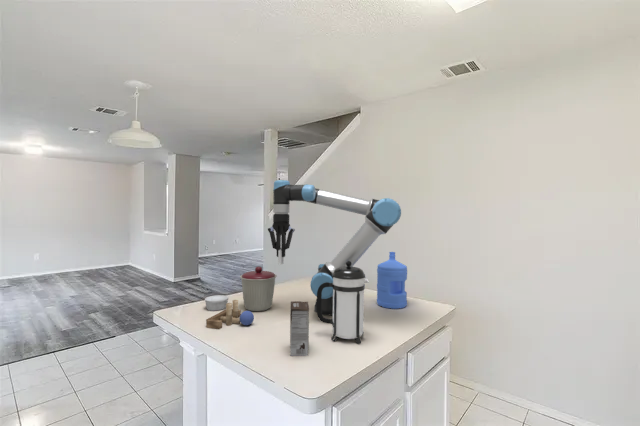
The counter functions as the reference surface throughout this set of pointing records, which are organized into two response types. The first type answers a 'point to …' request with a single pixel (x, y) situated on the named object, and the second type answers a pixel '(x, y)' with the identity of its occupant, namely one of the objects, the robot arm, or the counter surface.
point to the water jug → (391, 283)
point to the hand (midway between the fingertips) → (280, 263)
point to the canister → (258, 289)
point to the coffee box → (299, 328)
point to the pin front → (234, 320)
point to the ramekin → (216, 302)
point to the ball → (246, 317)
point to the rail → (217, 320)
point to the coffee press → (346, 302)
